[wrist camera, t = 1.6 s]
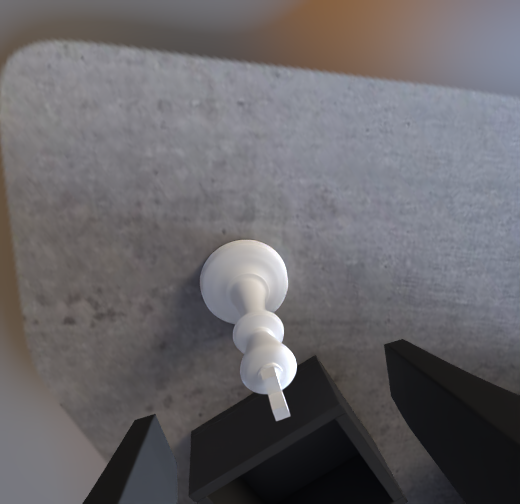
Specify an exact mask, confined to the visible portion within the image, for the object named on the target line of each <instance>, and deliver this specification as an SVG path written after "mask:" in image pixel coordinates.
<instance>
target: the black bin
mask: <svg viewBox="0 0 520 504" xmlns="http://www.w3.org/2000/svg"><path fill="white" fill-rule="evenodd" d="M282 392H283V395H284V398H285V400H286V403H287V406H288V409H289V413H290V417H287V418H284V419H282V420H279V421H276V419H275V417H274V414H273V411H272V408H271V404H270V400H269V396H268V394H259V393H256V392H255V393H253V394H252V395H250V396H248V397H247V398H245V399H244V400H242V401H240V402H239V403H237V404H235V405H234V406H232V407H231V408H229V409H227V410H226V411H224V412H222V413H221V414H219V415H218V416H216V417H214V418H213V419H211V420H210V421H208V422H206V423H205V424H203V425H201V426H200V427H198V428H197V429H195V430H193V431H192V432H191V452H190V475H189V497H190V498H191V499H192V500H193V501H194V502H197V504H405V503H407V502H408V501H407V499H406V497H405V496H404V494H403V492H402V490H401V488H400V487H399V485H398V483H397V481H396V480H395V478H394V476H393V474H392V472H391V471H390V469H389V467H388V465H387V463H386V462H385V460H384V458H383V456H382V455H381V453H380V451H379V449H378V447H377V446H376V444H375V442H374V441H373V439H372V438H371V436H370V435H369V433H368V432H367V430H366V429H365V428H364V426H363V425H362V423H361V422H360V420H359V419H358V417H357V416H356V414H355V413H354V411H353V410H352V408H351V407H350V405H349V404H348V402H347V401H346V399H345V398H344V396H343V395H342V393H341V392H340V390H339V389H338V388H337V386H336V385H335V383H334V382H333V380H332V379H331V377H330V376H329V374H328V373H327V371H326V370H325V368H324V367H323V365H322V364H321V362H320V361H319V359H318V358H317V356H313V357H312V358H310V359H308V360H307V361H305V362H304V363H302V364H300V365H299V366H297V369H296V374H295V376H294V378H293V380H292V381H291V383H290V384H289V385H288V386H287V387H285V388H284V389H282Z"/></svg>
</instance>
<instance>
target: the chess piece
mask: <svg viewBox="0 0 520 504" xmlns="http://www.w3.org/2000/svg"><path fill="white" fill-rule="evenodd" d="M200 289H201V293H202V296H203V299H204V302H205V304H206V305H207V307H208V308H209V310H210V311H211V312H212V313H213V314H214V315H215V316H217V317H218V318H220V319H221V320H223V321H226V322H228V323H232V324H236V325H235V327H234V330H233V340H234V343H235V345H236V347H237V348H238V349H239V350H240V351H241V352H242V353H243V354H244V355H243V358H242V361H241V365H240V376H241V379H242V382H243V383H244V385H245V386H246V387H247V388H248V389H250V390H251V391H253V392H256V393H259V394H268V396H269V400H270V404H271V408H272V411H273V414H274V417H275V419H276V421H279V420H282V419H284V418H287V417H290V413H289V409H288V406H287V403H286V400H285V398H284V395H283V392H282V389H284V388H285V387H287V386H288V385H289V384H290V383H291V381H292V380H293V378H294V376H295V374H296V369H297V364H296V359H295V357H294V355H293V353H292V352H291V351H290V350H289V349H288V348H287V347H286V346H285V345H284V344H282V340H283V335H284V327H283V324H282V322H281V320H280V319H279V317H278V316H276V315H275V314H274V312H275V311H276V310H277V309H278V308H279V307H280V305H281V304H282V302H283V300H284V298H285V296H286V293H287V289H288V276H287V271H286V267H285V264H284V262H283V260H282V259H281V257H280V256H279V254H278V253H277V252H276V251H275V250H274V249H272V248H271V247H269V246H268V245H266V244H264V243H261V242H258V241H254V240H237V241H233V242H230V243H227V244H225V245H223V246H221V247H220V248H218V249H217V250H215V251H214V252H213V253H212V254H211V255H210V256H209V258H208V259H207V260H206V262H205V264H204V266H203V268H202V271H201V275H200Z"/></svg>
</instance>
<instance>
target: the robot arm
mask: <svg viewBox="0 0 520 504" xmlns="http://www.w3.org/2000/svg"><path fill="white" fill-rule="evenodd" d="M384 347H385V355H386V362H387V370H388V377H389V385H390V392H391V397H392V399H393V400H394V402H395V404H396V406H397V407H398V409H399V411H400V413H401V414H402V416H403V418H404V419H405V421H406V423H407V424H408V426H409V428H410V429H411V430H412V432H413V433H414V434H415V436H416V437H417V439H418V440H419V441H420V443H421V444H422V445H423V447H424V448H425V449H426V451H427V452H428V453H429V455H430V456H431V457H432V459H433V460H434V461H435V463H436V464H437V465H438V467H439V468H440V469H441V471H442V472H443V473H444V475H445V476H446V477H447V479H448V480H449V481H450V483H451V484H452V485H453V487H454V488H455V489H456V491H457V492H458V493H459V495H460V496H461V497H462V499H463V500H464V502H465V503H466V504H520V395H517V394H515V393H512V392H510V391H508V390H506V389H503V388H501V387H499V386H496V385H494V384H492V383H490V382H487V381H485V380H483V379H481V378H479V377H477V376H474V375H472V374H470V373H468V372H466V371H464V370H462V369H460V368H458V367H456V366H454V365H452V364H450V363H448V362H446V361H444V360H442V359H440V358H438V357H436V356H434V355H433V354H431V353H429V352H427V351H425V350H423V349H421V348H419V347H417V346H415V345H414V344H412V343H410V342H408V341H406V340H404V339H401V340H398V341H394V342H391V343H388V344H385V345H384ZM83 504H177V462H176V460H175V458H174V455H173V453H172V451H171V449H170V446H169V444H168V442H167V440H166V437H165V435H164V433H163V430H162V428H161V426H160V424H159V421H158V419H157V417H156V415H155V414H153V415H150V416H147V417H143V418H140V419H137V420H135V421H134V422H133V424H132V426H131V427H130V429H129V430H128V432H127V434H126V435H125V437H124V439H123V440H122V442H121V443H120V445H119V447H118V448H117V450H116V452H115V453H114V455H113V457H112V458H111V460H110V461H109V463H108V465H107V466H106V468H105V470H104V471H103V473H102V474H101V476H100V477H99V479H98V481H97V482H96V484H95V485H94V487H93V488H92V490H91V492H90V493H89V495H88V496H87V498H86V499H85V501H84V502H83Z"/></svg>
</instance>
